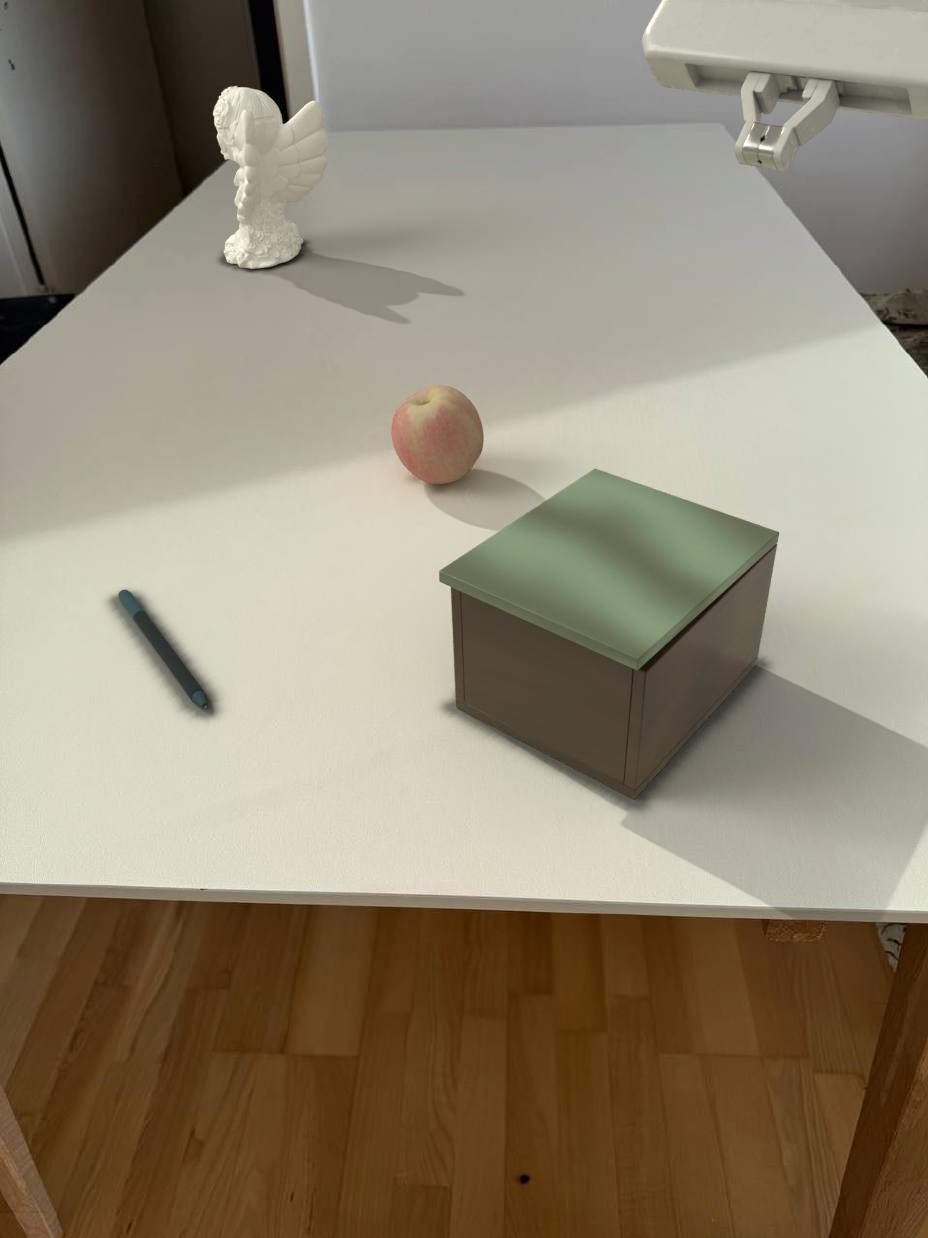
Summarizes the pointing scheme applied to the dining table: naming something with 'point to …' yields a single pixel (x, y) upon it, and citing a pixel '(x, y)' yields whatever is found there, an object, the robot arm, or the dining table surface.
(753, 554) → the lid
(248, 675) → the dining table surface
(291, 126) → the cherub figurine
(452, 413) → the apple
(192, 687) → the pen
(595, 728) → the coldframe
